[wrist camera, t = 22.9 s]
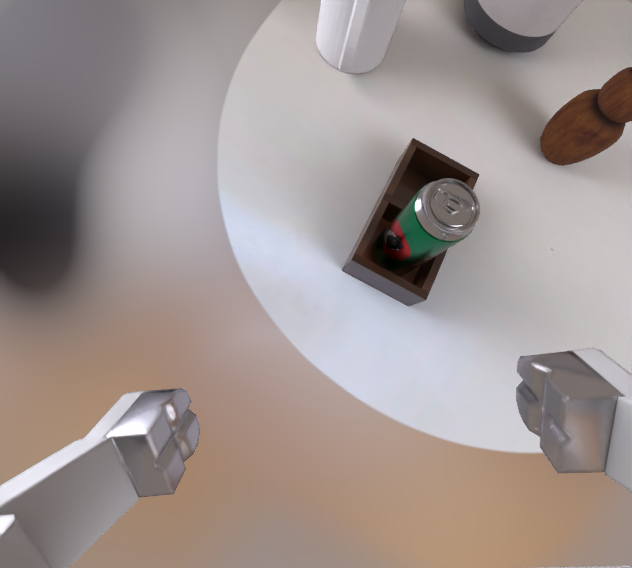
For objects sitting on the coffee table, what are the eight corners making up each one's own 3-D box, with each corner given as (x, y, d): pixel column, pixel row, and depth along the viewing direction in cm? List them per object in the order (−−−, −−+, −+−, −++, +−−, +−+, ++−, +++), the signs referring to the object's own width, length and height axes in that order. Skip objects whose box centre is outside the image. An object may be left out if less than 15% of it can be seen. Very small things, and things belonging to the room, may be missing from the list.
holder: (408, 306, 37) (426, 300, 33) (341, 270, 36) (351, 259, 32) (458, 192, 40) (479, 174, 36) (398, 159, 40) (413, 137, 36)
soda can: (402, 285, 36) (467, 250, 24) (362, 259, 36) (408, 211, 24) (424, 248, 37) (495, 197, 26) (385, 222, 37) (439, 160, 26)
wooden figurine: (524, 129, 44) (652, 16, 29) (561, 123, 45) (702, 11, 30) (544, 177, 43) (687, 83, 28) (582, 169, 44) (738, 75, 29)
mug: (353, 4, 44) (378, -95, 35) (402, 57, 43) (441, -29, 34) (288, 41, 42) (295, -56, 32) (338, 98, 41) (361, 17, 31)
